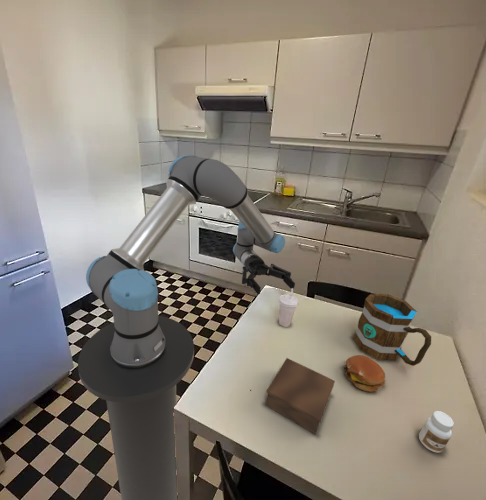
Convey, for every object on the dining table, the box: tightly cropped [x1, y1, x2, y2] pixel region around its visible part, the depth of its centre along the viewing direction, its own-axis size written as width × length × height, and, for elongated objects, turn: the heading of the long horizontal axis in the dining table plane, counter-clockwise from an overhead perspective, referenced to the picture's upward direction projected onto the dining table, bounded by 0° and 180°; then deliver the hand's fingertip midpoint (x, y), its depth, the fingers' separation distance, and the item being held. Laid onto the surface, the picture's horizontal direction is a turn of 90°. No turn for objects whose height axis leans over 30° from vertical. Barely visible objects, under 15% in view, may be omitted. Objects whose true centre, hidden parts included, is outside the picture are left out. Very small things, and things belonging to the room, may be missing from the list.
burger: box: [343, 354, 386, 393], centre depth 74 cm, size 10×9×5 cm
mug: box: [352, 292, 432, 367], centre depth 82 cm, size 20×14×15 cm
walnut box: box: [265, 357, 336, 436], centre depth 67 cm, size 12×12×5 cm
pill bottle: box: [418, 410, 455, 454], centre depth 58 cm, size 4×4×8 cm
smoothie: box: [278, 288, 299, 328], centre depth 92 cm, size 6×6×14 cm
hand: (276, 288), depth 98 cm, fingers open, 13 cm apart
